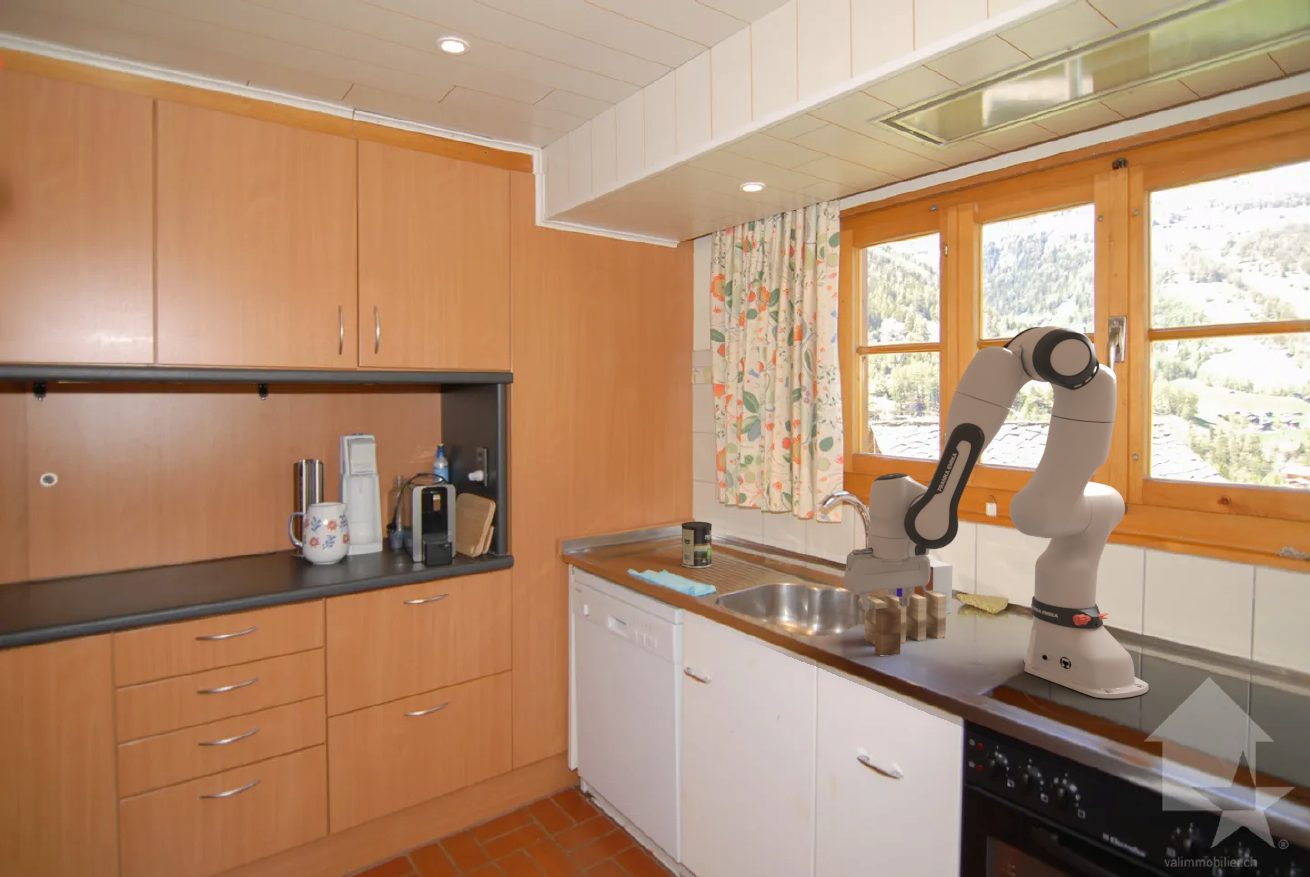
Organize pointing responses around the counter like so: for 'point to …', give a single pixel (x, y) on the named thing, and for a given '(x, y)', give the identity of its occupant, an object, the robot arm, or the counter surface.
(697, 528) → the coffee can
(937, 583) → the small box
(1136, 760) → the counter surface
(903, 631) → the domino
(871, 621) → the domino
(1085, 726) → the counter surface
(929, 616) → the domino
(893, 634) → the domino
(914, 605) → the domino
